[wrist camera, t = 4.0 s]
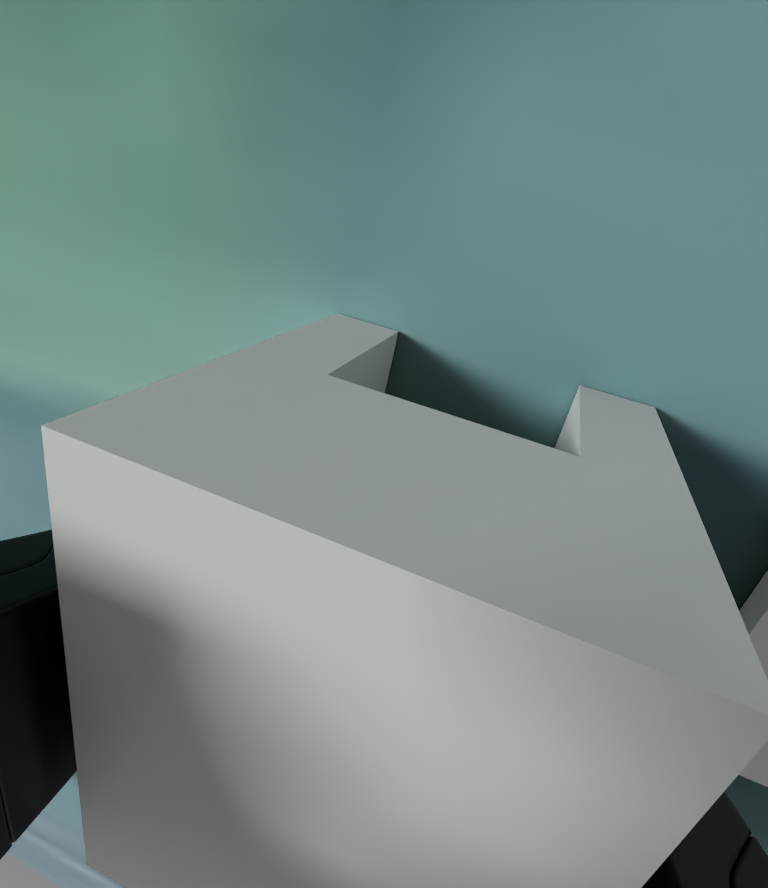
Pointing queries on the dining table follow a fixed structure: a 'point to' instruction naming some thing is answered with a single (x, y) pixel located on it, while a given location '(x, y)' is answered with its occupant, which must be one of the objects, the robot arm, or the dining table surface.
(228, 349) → the dining table surface
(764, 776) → the light grey long base
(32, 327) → the dining table surface
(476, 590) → the grey slotted block
